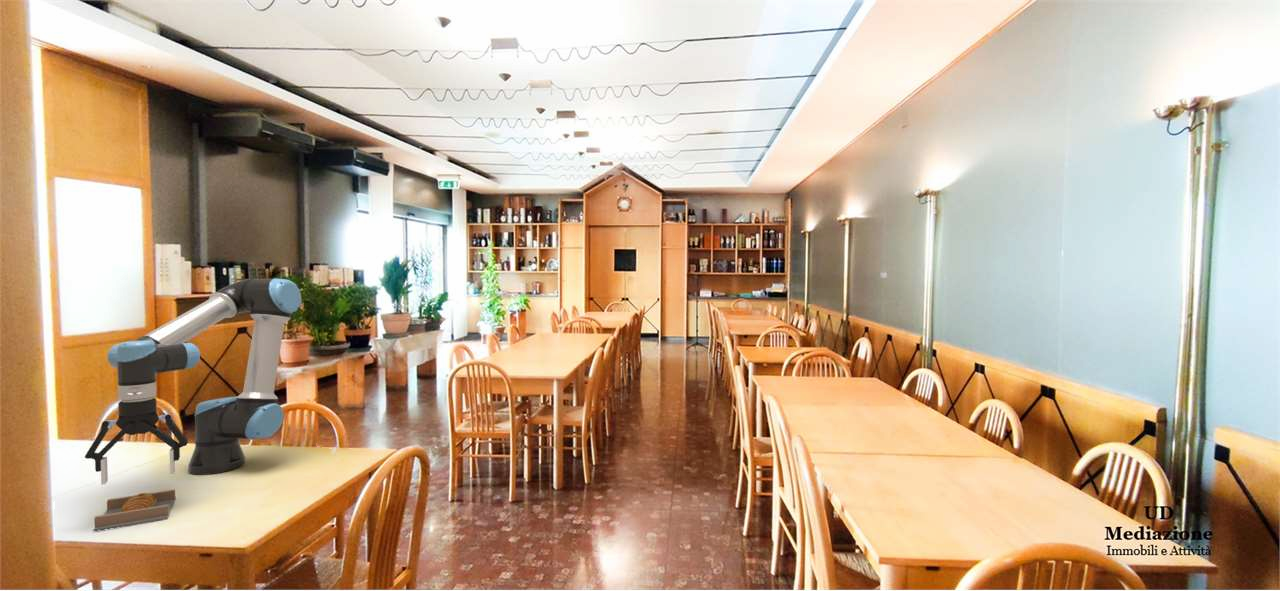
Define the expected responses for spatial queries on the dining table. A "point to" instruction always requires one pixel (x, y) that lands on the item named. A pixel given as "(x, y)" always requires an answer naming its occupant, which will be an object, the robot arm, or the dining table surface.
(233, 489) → the dining table surface
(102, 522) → the pastry holder
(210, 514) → the dining table surface
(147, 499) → the pastry
